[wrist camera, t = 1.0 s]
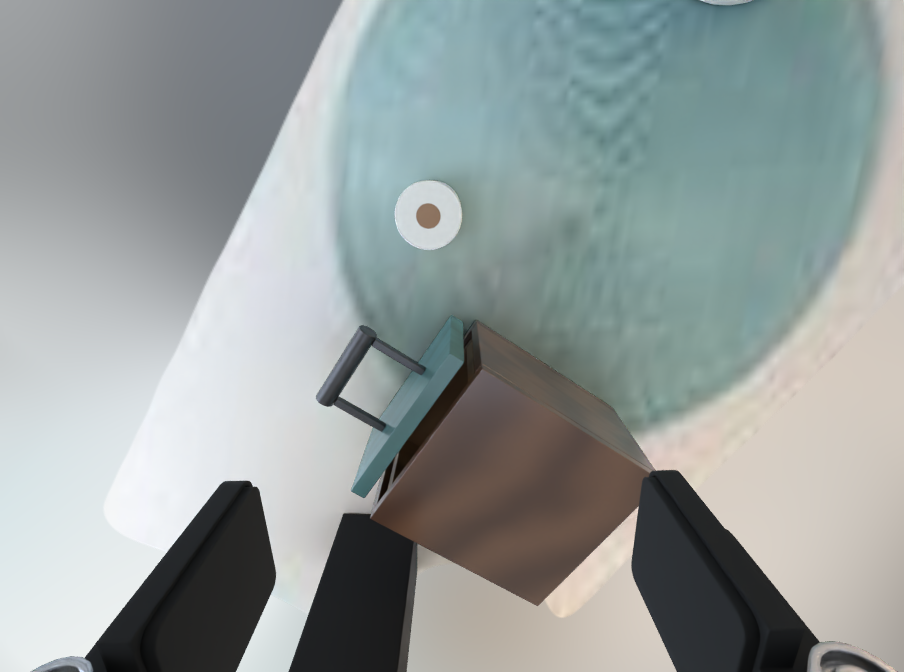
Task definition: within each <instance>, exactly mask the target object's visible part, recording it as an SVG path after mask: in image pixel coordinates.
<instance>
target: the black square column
mask: <svg viewBox="0 0 904 672" xmlns="http://www.w3.org/2000/svg"><path fill="white" fill-rule="evenodd" d="M370 516H371V515H355V514H343V517H342V519H341V522H340V525H339V528H338V531H337V534H336V537H335V540H334V542H333V545H332V548H331V551H330V554H329V557H328V560H327V563H326V566H325V568H324V571H323V574H322V577H321V580H320V583H319V586H318V589H317V591H316V594H315V597H314V600H313V603H312V606H311V609H310V612H309V615H308V617H307V620H306V623H305V626H304V629H303V632H302V635H301V638H300V641H299V643H298V646H297V649H296V652H295V655H294V658H293V661H292V664H291V667H290V669H289V672H406V671H407V662H408V661H407V660H408V652H409V643H410V633H411V623H412V615H413V605H414V595H415V586H416V577H417V543H416V542H414V541H412V540H410V539H408V538H406V537H404V536H402V535H400V534H398V533H397V532H395V531H393V530H391V529H389V528H387V527H385V526H383V525H381V524H379V523H377V522H376V521H374V520H372V519H370Z"/></svg>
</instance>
